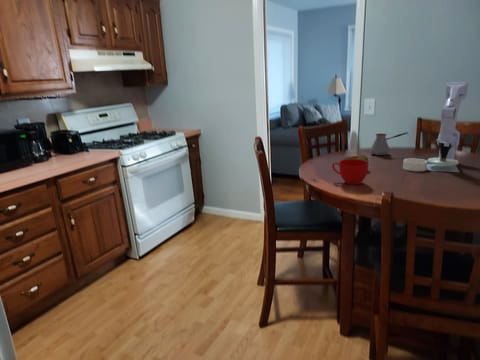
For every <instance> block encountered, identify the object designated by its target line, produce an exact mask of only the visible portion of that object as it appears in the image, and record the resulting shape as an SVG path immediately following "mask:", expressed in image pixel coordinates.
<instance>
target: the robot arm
mask: <svg viewBox="0 0 480 360" xmlns="http://www.w3.org/2000/svg"><path fill="white" fill-rule="evenodd" d="M468 90H469V82H468V81H457V82H456V81H453V82H451V81H448V82H447V83H446V87H445V98H446V101H445V103H444V106H443V108H441V113H440V129H439V133H438V136H437V139H436V140H435V141H436V142H437V146H438V147H439V154H438V158H440V154H441V158H446V157H447V158H450V159H455V151H456V147H458V146H459V145H460V136H461V132H460V131H459V130H457V129H456V126H457V122H458V116H459V110H460V109H459V108H460V104H461V102H462V101H463V100H465V99H466V97H467V95H468Z"/></svg>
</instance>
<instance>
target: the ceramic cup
mask: <svg viewBox="0 0 480 360" xmlns="http://www.w3.org/2000/svg"><path fill="white" fill-rule="evenodd" d="M335 165H337V166H338V167H339V171H338V170H337V169H336V167H335ZM331 168H332V170H333V172H335V173H337V174H338V175H340V177H341V179H342V180H343V181H344V183H345V184H347V185H350V186H357V185H360V184H361V183H362V182H363V181H365V179H366V177H367V175H368V171H369V161H368V162H367V161H364V160H356V159H348V160H343V159H341V160H340V161H339V162H333V163H332V167H331Z"/></svg>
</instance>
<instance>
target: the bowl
mask: <svg viewBox="0 0 480 360" xmlns="http://www.w3.org/2000/svg"><path fill="white" fill-rule="evenodd" d="M427 164H428V160H426V159H424V158H422V159H421V158H412V157H410V158H404V159H403V163H402V169H403V170H406V171H409V172H410V171H411V172H424V171H427Z"/></svg>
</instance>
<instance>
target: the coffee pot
mask: <svg viewBox="0 0 480 360" xmlns="http://www.w3.org/2000/svg"><path fill="white" fill-rule="evenodd" d="M387 135H388V134H387V133H375V136H376V138H375V140H374V142H373V144H372V145H371V147H370V153H371V154H375V155H374V156H377V155H384V156H387V154H389V153H390V151H391V149H390V146H389V144H388V140H391V139H394V138H398V137H402V136H405V135H407V136H409V133H408V131H407V132H402V133H398V134H395V135H394V136H391V137H387ZM386 137H387V138H386Z"/></svg>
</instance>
